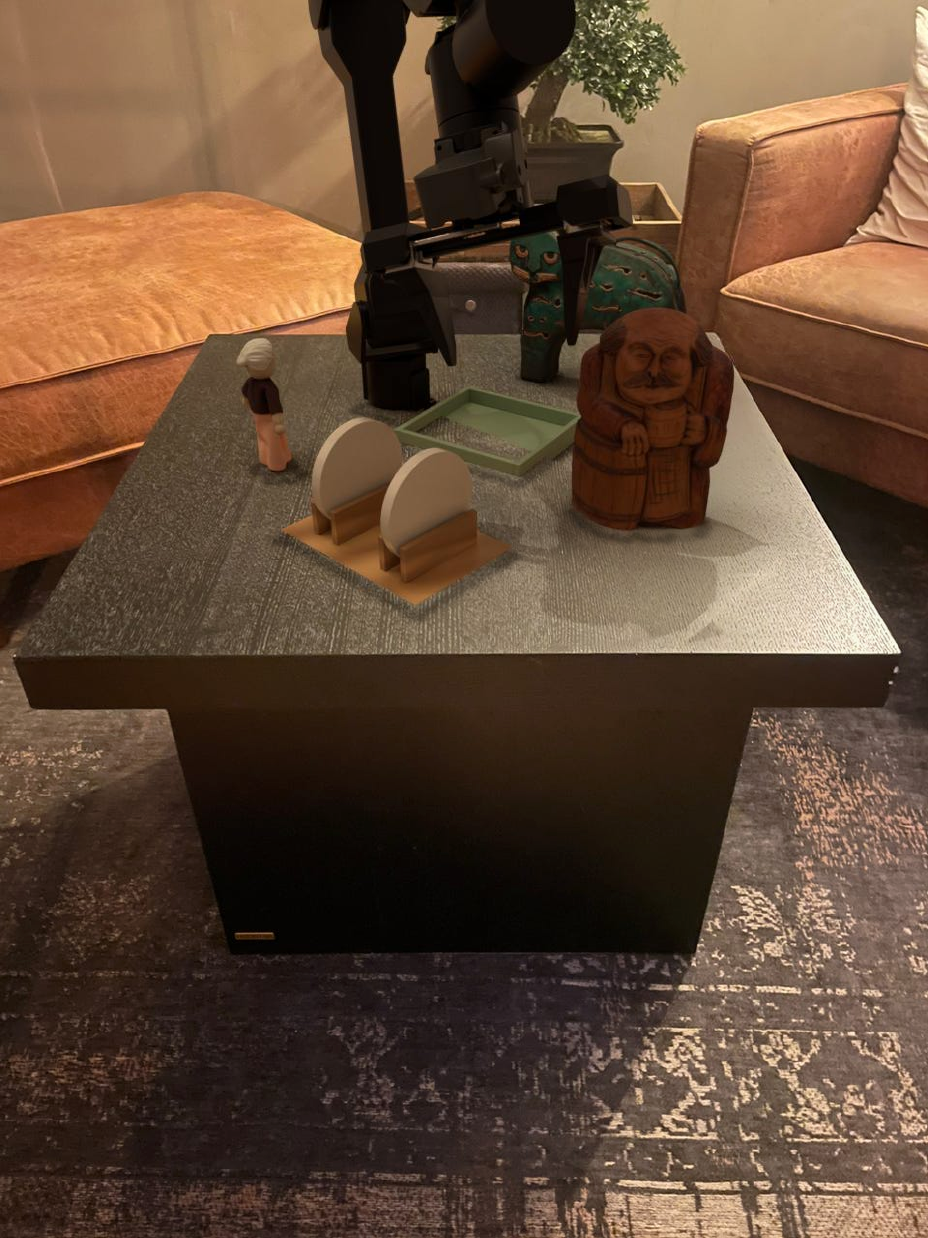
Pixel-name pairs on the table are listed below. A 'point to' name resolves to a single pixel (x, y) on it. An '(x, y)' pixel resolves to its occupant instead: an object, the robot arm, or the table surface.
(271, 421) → the grandmother figurine
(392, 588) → the plate rack
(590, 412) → the wooden figurine
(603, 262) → the ceramic cat
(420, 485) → the plate
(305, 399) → the table surface
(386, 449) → the plate
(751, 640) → the table surface
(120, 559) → the table surface
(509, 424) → the tray
